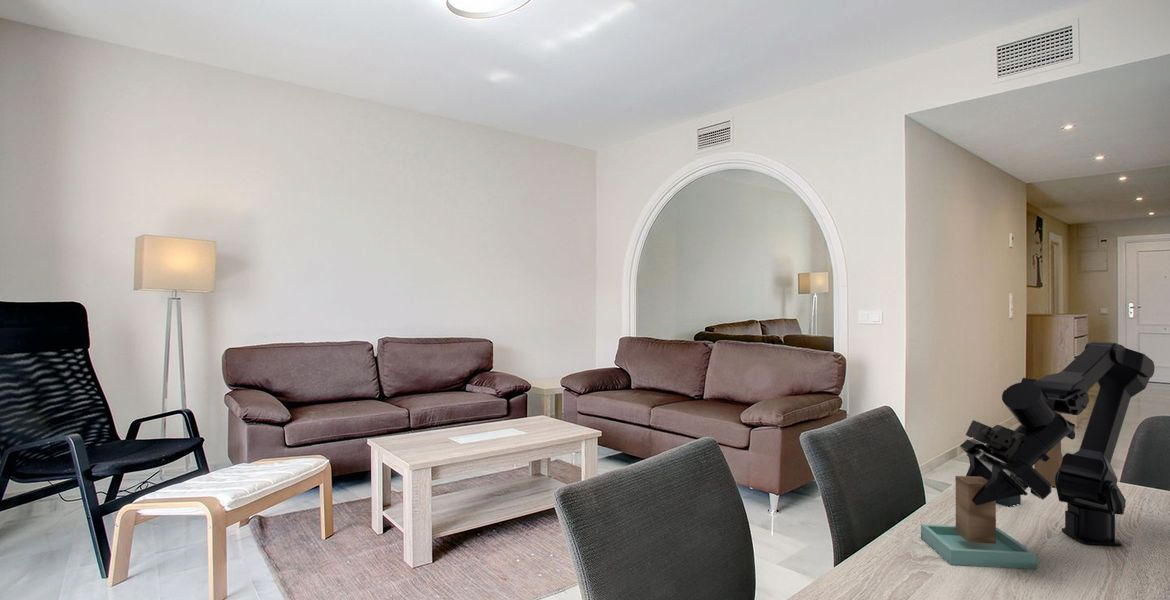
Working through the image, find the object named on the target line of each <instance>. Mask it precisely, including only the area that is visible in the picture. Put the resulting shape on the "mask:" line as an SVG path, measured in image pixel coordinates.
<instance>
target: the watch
mask: <svg viewBox="0 0 1170 600" xmlns="http://www.w3.org/2000/svg"><path fill="white" fill-rule="evenodd" d="M1021 496H1022V495H1019V496H1014V497H1009V498H1004V499H1000V500H996V505H1001V506H1004V505H1005V506H1004V507H1007V506H1008V508H1010V506H1011V507H1014V506H1013V505H1015V506H1018V505H1017V504H1019V505H1021V501H1022V499H1021V498H1022V497H1021Z"/></svg>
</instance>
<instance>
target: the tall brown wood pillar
mask: <svg viewBox="0 0 1170 600" xmlns="http://www.w3.org/2000/svg"><path fill="white" fill-rule="evenodd" d="M987 482H988V480H987V479H985V478H983V477H976V476H966V475H955V526H956V533H957V534H958V535H960V536H961V537H962V538H964V539H965V540H966V541H967V542H969V543H991V544H996V528H997V522H996V521H997V515H996V513H997V503H996V501H992V502H988V503H984V504H980V505H976V504H975V503H973V502H972V499H973V498H974V497H975V495H976V494H977V493H978V492H979V491H980V489H981V488H982V487H983V486H984V485H985V484H986V483H987Z"/></svg>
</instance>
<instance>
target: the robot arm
mask: <svg viewBox="0 0 1170 600" xmlns="http://www.w3.org/2000/svg"><path fill="white" fill-rule="evenodd" d="M1155 370H1156V369H1155V362H1154V361H1153V360H1152V359H1151V358H1150V357H1149V356H1147V355H1146V354H1145V353H1142V352H1139V351H1136V350H1133V349H1130V348H1127V347H1125V346H1123V344H1118V343H1117V342H1105V341H1092V342H1087V343H1086V345H1085V347H1084V350H1083V351H1082V352H1081V353H1080V354H1079V355H1077V356H1076V358H1074V359H1073V360H1072V361H1071V362H1070V363H1068V365H1066V367H1064V368H1063V369H1062V370H1061V371H1059V372H1057V373H1051V374H1046V375H1044V376H1042V377H1040V378H1038V379H1036V378H1029V377H1023V378H1021V381H1020V382H1016V383H1014V384H1011V385H1010V386H1009V387H1007V388H1006V389H1004V390H1003V392H1002V394H1001V400H1002V402H1003V404H1004V405H1005V406H1006V408H1007V410H1009V412H1010V413H1011V414H1012V415H1013V417H1014V419H1016V421H1017V422H1018V423H1019V425H1018V426H1017V427H1016V428H1015V429H1014V430H1013V429H1011V428H1008V427H1005V426H1003V425H1000V424H996V425H994V426H993V427H991V426H989V425H987V424H984V423H982V422H980V421H976V420H974V419H972V421H971V423H970V425H969V426H968V429H967V431H966V432H965V436H967V437H969V438H973V439H966V440H965V441H964V442H963V443H961V444H960V445H959V447H960V448H961V449H962V450H963V451H964V452H965V453H966V456H967V457H968V460H969V466H968V470H967V473H966V474H965V476H976V477H983V478H985V479H987V480H988V482H987V483H986V484H985V485H984V486H983V487H982V488H981V489H980V491H979V492H978V493H977V494H976V495H975V497H974V498H973V499H972V502H973V503H975V504H976V505H980V504H984V503H988V502H992V501H996V500H1000V499H1004V498H1009V497H1014V496H1019V495H1021V496H1028V495H1029V494H1028V492H1027V491H1026V490H1027V489H1028V488H1029V489H1030V494H1032V496H1035V497H1037V498H1039V499H1040V500H1042V501H1043V500H1045V499H1046V498H1047V497H1048V496H1049V495H1050V494H1051V493H1052V487H1051V484H1050V483H1049V482H1048V481H1047V480H1046V479H1045V478H1044V477H1043V476H1042V475H1041V474H1040V473H1039V472H1037V471H1036V470H1035V469H1034V464H1035V463H1036V462H1037V461H1038V460H1042V461H1044V462H1046V461H1047V460H1048V459H1050V458H1049V457H1048V456H1047V455H1046V453H1047V452H1049V451H1050V450H1051V449H1052V448H1053V447H1054V446H1055V445H1056V444H1058V443H1059V442H1060V441H1061V442H1062V440H1063V439H1065V437H1066V438H1067V439H1069V440H1075V439H1076V432H1075V428H1076V424H1075V423H1073V422H1071V421H1069V420H1067V419H1066V418H1065V417H1064V416H1062V414H1065V415H1072V416H1079V415H1080V414H1081V413H1082V412H1083V411H1084V410H1085V409H1086V408H1087V407H1088V404H1089V403H1090V398H1089V394H1088V392H1089V390H1090V389H1091V388H1092V387H1093V386H1094V385H1095V384H1096V383H1098V385H1099V386H1098V387H1099V388H1098V390H1097V391H1098V392H1097V395H1096V398H1095V400H1094V404H1093V407H1092V409H1091V412H1090V416H1089V418H1088V419H1089V420H1088V422H1087V425H1086V428H1085V432H1084V435H1083V437H1082V440H1081V443H1080V446H1079V448H1078V451H1076V452H1074V453H1070V452H1066V453H1065V454H1064V455H1062V456H1063V460H1062V464H1061V466H1060V468H1059V469H1058V472H1057V473H1056V476H1055V484H1056V488H1055V489H1056V492H1057V498H1058V502H1061V503H1066V504H1067V510H1065V512H1064V518H1065V519H1064V527H1062V528H1061V531H1062V533H1065V534H1066V535H1068V536H1071V538H1074V539H1075V540H1077V541H1079V542H1080V543H1082V544H1085V545H1099V546H1101V545H1104V546H1105V545H1106V546H1123V542H1122V541H1119V540H1117V539H1116V515H1125V508H1127V507H1126V501H1127V499H1126V498H1125V496H1124V494H1123V493H1122V491H1121V490H1120V487H1119V486H1118V484H1117V483H1118V477H1117V475H1116V473H1115V471H1114V469H1113V466H1112V464H1111V463H1112V460H1113V456H1114V453H1115V449H1116V446H1117V443H1118V440H1119V437H1120V433H1121V431H1122V426H1123V424H1124V421H1125V417H1126V414H1127V411H1128V407H1129V404H1130V401H1131V399H1132V398H1133V397H1135V396H1136V395H1137V394H1139V393H1141V392H1142V391H1144V390H1146V388H1147V386H1148V383H1149V380H1150V379H1151V378H1153V376H1154V373H1155ZM1056 412H1057V413H1056ZM1058 413H1061V415H1060V414H1058Z"/></svg>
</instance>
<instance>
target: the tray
mask: <svg viewBox="0 0 1170 600" xmlns="http://www.w3.org/2000/svg"><path fill="white" fill-rule="evenodd" d="M920 538H921V539H922V540H924V542H926V543H927V544H928V545H929V546H930V547H931V548H932V549H933V550H934V551H935V552H936V553H937V554H938V555H940V556H941V558H943V559H944V560H945V561H946V562H947V563H949V565H952V566H953V565H954V566H968V567H969V566H970V567H971V566H972V567H990V568H991V567H993V568H1007V569H1009V568H1010V569H1011V568H1012V569H1029V570H1037V569H1038V568H1037V567H1038V565H1037V564H1038V563H1037V562H1038V559H1037V558H1038V555H1037V553H1035V552H1034V551H1033V550H1031V549H1029V548H1028V547H1026V546H1025V545H1024V544H1022V543H1020V542H1019V541H1018V540H1017V539H1015V538H1013V537H1012V536H1010V535H1009V534H1008V533H1007V532H1005V531H1003V530H1001V529H1000V528H998V527H996V544H991V543H969V542H967V541H966V540H965V539H964V538H962V537H961V536H960V535H958V534H957V533H956V525H946V524H944V525H942V524H925V523H922V524H920Z"/></svg>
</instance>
